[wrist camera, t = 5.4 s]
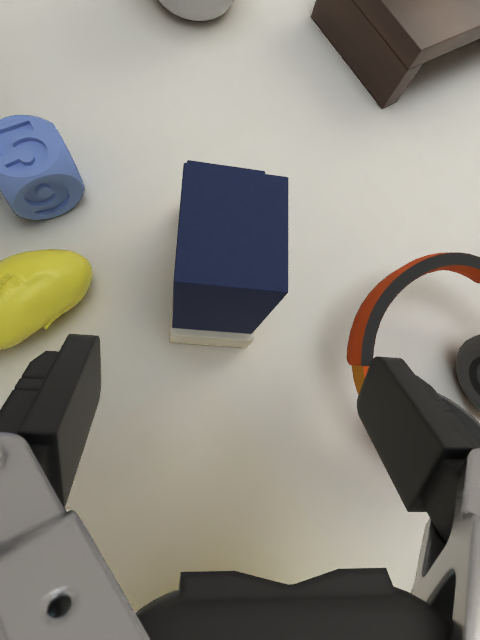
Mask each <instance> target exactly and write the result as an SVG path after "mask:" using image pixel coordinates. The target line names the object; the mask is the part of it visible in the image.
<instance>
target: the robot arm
mask: <svg viewBox="0 0 480 640" xmlns="http://www.w3.org/2000/svg"><path fill="white" fill-rule="evenodd" d="M100 391H101V359H100V339H99V336H93V335H79V334H69V335H68V336H67V338H66V340H65V342H64V344H63V346H62V347H61V349H60V351H59V352H56V351H45V352H44V353H42V354H41V355H40V356H38V357H37V358H35V359H34V360H33V361H31V362H30V363H29V365H28V367H27V368H26V370H25V371H24V373H23V375H22V378H20V379H19V381H18V383H17V384H16V386H15V389H14V390H13V391H12V392H11V394H10V395H9V397H8V399H7V400H6V402H5V403H4V405H3V407H2V408H1V410H0V640H480V445H479V444H478V443H477V442H476V440H475V439H474V438H473V437H472V435H471V434H470V433H469V432H468V430H467V429H466V428H465V427H464V426H463V424H462V423H461V422H460V421H459V419H458V418H457V417H456V416H455V414H454V413H451V410H450V408H449V407H448V406H447V405H446V403H445V402H442V399H441V397H440V396H439V395H438V394H437V392H436V391H435V390H434V389H433V387H431V386H430V385H429V384H427V383H426V382H425V381H423V380H422V379H421V378H419V377H418V376H416V375H415V374H414V373H413V372H412V370H411V369H410V368H409V367H408V365H407V364H406V363H405V361H404V360H402V359H400V358H389V357H375V358H374V359H373V360H372V361H371V363H370V366H369V369H368V371H367V374H366V377H365V379H364V382H363V385H362V387H361V390H360V392H359V395H358V399H357V410H358V414H359V417H360V419H361V421H362V423H363V425H364V427H365V429H366V431H367V433H368V435H369V437H370V439H371V440H372V442H373V444H374V446H375V448H376V450H377V452H378V454H379V456H380V458H381V460H382V462H383V464H384V466H385V468H386V470H387V472H388V474H389V476H390V478H391V480H392V482H393V484H394V486H395V487H396V489H397V491H398V493H399V495H400V497H401V499H402V501H403V503H404V505H405V507H406V509H407V511H408V512H427V513H428V515H429V517H430V519H429V520H428V522H427V524H426V526H425V530H424V535H423V540H422V545H421V550H420V555H419V561H418V566H417V571H416V576H415V581H414V586H413V589H412V592H411V593H409V592H406V591H404V590H401V589H399V588H396V587H393V585H392V582H391V580H390V577H389V575H388V572H387V570H386V568H361V569H337V570H334V571H331V572H328V573H326V574H323V575H320V576H317V577H314V578H311V579H308V580H305V581H302V582H300V583H297V584H293V585H288V584H283V583H279V582H275V581H271V580H267V579H264V578H260V577H256V576H252V575H248V574H244V573H240V572H237V571H208V572H181V575H180V583H179V590H177V591H174V592H171V593H168V594H165V595H163V596H161V597H159V598H157V599H155V600H153V601H152V602H150V603H149V604H147V605H146V606H144V607H142V608H141V609H140V610H139V611H137V612H136V613H135V612H134V610H133V608H132V607H131V605H130V603H129V602H128V600H127V598H126V596H125V595H124V593H123V591H122V589H121V588H120V586H119V584H118V583H117V581H116V579H115V577H114V576H113V574H112V572H111V570H110V569H109V567H108V565H107V564H106V562H105V560H104V558H103V557H102V555H101V553H100V551H99V550H98V548H97V546H96V545H95V543H94V541H93V539H92V538H91V536H90V534H89V532H88V531H87V529H86V527H85V526H84V524H83V522H82V520H81V519H80V517H79V516H78V515H77V513H76V512H75V511H73V510H70V511H68V512H67V511H66V510H65V505H66V502H67V499H68V496H69V493H70V490H71V487H72V484H73V480H74V477H75V474H76V471H77V468H78V465H79V462H80V459H81V455H82V452H83V449H84V446H85V443H86V440H87V437H88V434H89V431H90V427H91V424H92V421H93V418H94V415H95V412H96V409H97V406H98V402H99V397H100Z"/></svg>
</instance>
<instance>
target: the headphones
mask: <svg viewBox="0 0 480 640" xmlns="http://www.w3.org/2000/svg"><path fill="white" fill-rule="evenodd" d="M438 270H449V271H453V272H457V273H459V274H462V275H464V276H466V277H468V278H470V279H471V280H473V281H474V282H476V283H480V257H477V256H474V255H471V254H466V253H438V254H432V255H427V256H424V257H421V258H418V259H416V260H414V261H412V262H410V263H408V264H406V265H404V266H403V267H401V268H399V269H398V270H396V271H394V272H393V273H391V274H390V275H388V276H387V277H386V278H385V279H383V280H382V281H381V282H380V283H378V284H377V286H376V287H375V288H374V289H373V290H372V291H371V292H370V293H369V294H368V296H367V297H366V299H365V300H364V302H363V303H362V304H361V306H360V308H359V310H358V312H357V314H356V316H355V319H354V322H353V325H352V328H351V331H350V336H349V341H348V347H347V361H348V363H349V365H352V371H353V378H354V382H355V386H356V389H357V392H358V394H359V392H360V390H361V387H362V385H363V382H364V379H365V377H366V374H367V371H368V369H369V366H370V363H371V361H372V360H373V352H374V345H375V339H376V334H377V331H378V328H379V325H380V322H381V320H382V317H383V315H384V313H385V311H386V310H387V308H388V306H389V305H390V303H391V302H392V301H393V300H394V298H395V297H396V296H397V295H398V294H399V293H400V292H401V291H402V290H403V289H404V288H405V287H406V286H407V285H408V284H410V283H411V282H412V281H414V280H415V279H417V278H419V277H420V276H422V275H425V274H427V273H430V272H434V271H438ZM456 373H457V377H458V380H459V383H460V386H461V388H462V390H463V392H464V393H465V395H466V397H467V398H468V399H469V400H470V402H471V403H472V404H473V405H474V406H475V407H476V408H477V409H478V410H479V411H480V335H478V336H474V337H472V338H470V339H469V340H467V341H465V343H464V344H463V345H462V346H461V347H460V349H459V352H458V354H457V357H456ZM437 394H438V393H437ZM438 395H439V396H440V397H441V399H442V402H445V403H446V405H447V406H448V407H449V408H450V410H451V413H454V414H455V416H456V417H457V418H458V419H459V421H460V422H461V423H462V424H463V426H464V427H465V428H466V429H467V430H468V432H469V433H470V434H471V435H472V437H473V438H474V439H475V440H476V442H477V443H478V444H479V445H480V424H479V423H478V422H477V421H476V420H475V419H474V418H473V417H472V416H471V415H470V414H469V413H468V412H466V411H465V410H464V409H463V408H461V407H460V406H458V405H457V404H455V403H454V402H453V401H451V400H449V399H448V398H446V397H444V396H442V395H440V394H438Z"/></svg>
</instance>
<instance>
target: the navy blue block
mask: <svg viewBox="0 0 480 640" xmlns="http://www.w3.org/2000/svg"><path fill="white" fill-rule="evenodd" d="M287 293H288V177H282V176H275V175H268V174H265V171H259V170H252V169H245V168H238V167H231V166H224V165H217V164H210V163H203V162H196V161H189V160H188V161H187V163H184V167H183V179H182V190H181V202H180V213H179V225H178V237H177V248H176V260H175V271H174V286H173V301H172V313H171V324H170V342H171V343H184V344H198V345H213V346H227V347H241V348H246V347H247V346H248V345H249V344H250V343H251V342H252V341H253V332H254V331H255V329H256V328H257V327H258V326H259V325H260V324H261V323H262V321H263V320H264V319H265V318H266V317H267V316H268V315H269V313H270V312H271V311H272V310H273V309H274V308H275V307H276V305H277V304H278V303H279V302H280V301H281V300H282V299H283V298H284V296H285V295H286V294H287Z"/></svg>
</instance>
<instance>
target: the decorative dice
mask: <svg viewBox="0 0 480 640" xmlns="http://www.w3.org/2000/svg"><path fill="white" fill-rule="evenodd" d="M84 190H85V187H84V184H83V181H82V179H81V176H80V174H79V172H78V169H77V167H76V165H75V163H74V161H73V159H72V157H71V154H70V152H69V150H68V149H67V147H66V145H65V143H64V141H63V139H62V137H61V136H60V134H59V132H58V130H57V129H56V127H55V126H54V124H53V123H51V122H49V121H47V120H45V119H42V118H39V117H35V116H29V115H14V116H9V117H5V118H3V119H0V191H1V192H2V194H3V195H4V197H5V199H6V200H7V202H8V203H9V205H10V206H11V208H12V209H13V211H14V212H15V213H16V215H18V216H21V217H24V218H28V219H33V220H44V219H50V218H54V217H57V216H60V215H62V214H64V213H66V212H67V211H69V210H70V209H72V208H73V207H74V206H75V205H76V204H77V203H78V202H79V201H80V199H81V197H82V195H83V193H84Z"/></svg>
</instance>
